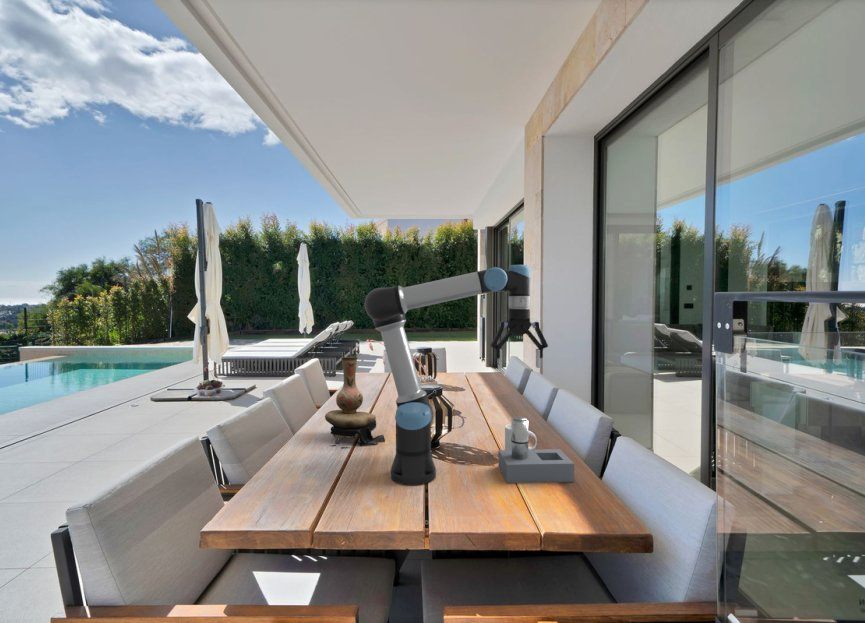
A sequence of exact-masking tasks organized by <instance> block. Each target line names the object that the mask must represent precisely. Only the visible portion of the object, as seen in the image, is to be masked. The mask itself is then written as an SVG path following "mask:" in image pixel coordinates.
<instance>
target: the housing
mask: <svg viewBox="0 0 865 623" xmlns="http://www.w3.org/2000/svg"><path fill="white" fill-rule="evenodd" d="M497 455H498V464H497V466H498V469H499V471H500V473H501V475H502V477H503V479H504V480H505V482H506V484H537V483H540V484H541V483H542V484H543V483H574V482H575V463H574V461H572V460H571V459H570V457H568V455H566V453H564V452H563V450H561V449H558V448H554V449H553V448H552V449H549V448H547V449H546V448H545V449H534V450H528V459H525V460H518V459H514V458H512V457H511V450H505V449H499V450H498V454H497Z"/></svg>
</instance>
